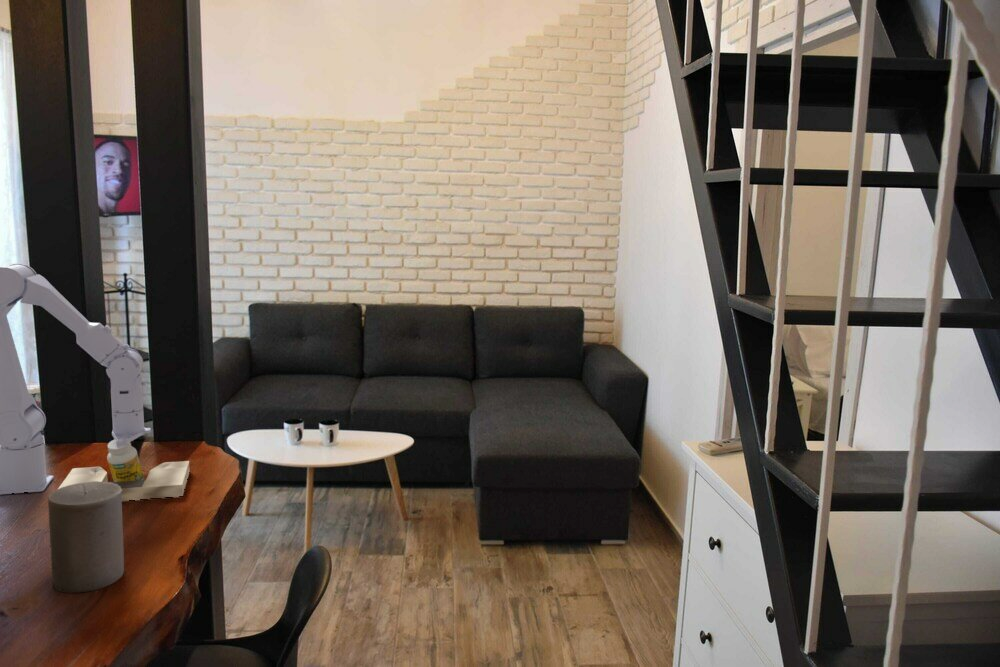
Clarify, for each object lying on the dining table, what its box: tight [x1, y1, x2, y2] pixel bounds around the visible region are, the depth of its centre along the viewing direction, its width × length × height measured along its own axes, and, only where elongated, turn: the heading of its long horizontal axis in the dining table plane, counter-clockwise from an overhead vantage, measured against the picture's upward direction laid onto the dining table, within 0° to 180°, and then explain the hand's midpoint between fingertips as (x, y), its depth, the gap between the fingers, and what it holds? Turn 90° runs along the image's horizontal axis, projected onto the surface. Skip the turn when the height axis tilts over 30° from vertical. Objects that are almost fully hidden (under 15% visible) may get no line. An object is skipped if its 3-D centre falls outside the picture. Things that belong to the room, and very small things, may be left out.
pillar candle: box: [47, 481, 125, 594], centre depth 109 cm, size 10×10×15 cm
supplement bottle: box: [106, 438, 144, 482], centre depth 144 cm, size 5×5×10 cm
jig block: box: [57, 460, 191, 502], centre depth 145 cm, size 22×14×3 cm, turn 108°
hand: (130, 472), depth 149 cm, fingers closed
